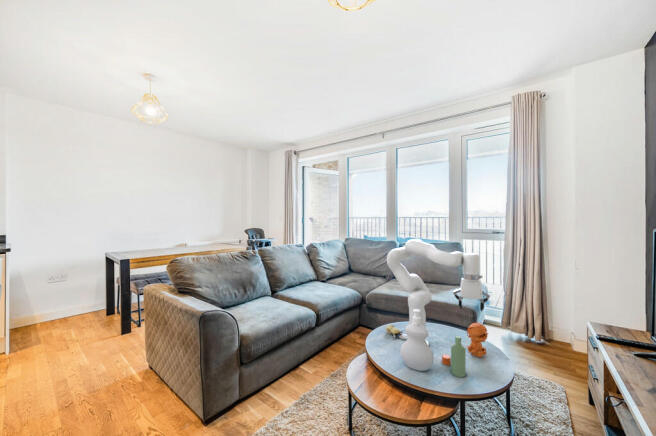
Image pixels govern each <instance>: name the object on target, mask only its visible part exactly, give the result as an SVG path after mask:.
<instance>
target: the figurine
mask: <svg viewBox="0 0 656 436" xmlns="http://www.w3.org/2000/svg"><path fill="white" fill-rule="evenodd" d="M384 329H385V332H386V333H387V334H388V335H393V338H394V339H395V338H397V339H401V340H404V341H406V340H407V339H403V337H402V334H404V331H403V330H400V329H399V328H396V326H395V325H394V324H388V325H386V326H385V327H384Z"/></svg>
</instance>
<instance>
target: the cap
mask: <svg viewBox="0 0 656 436" xmlns="http://www.w3.org/2000/svg"><path fill="white" fill-rule="evenodd" d="M441 363H442V364H443V365H445V366H451V355H449V354H442V356H441Z"/></svg>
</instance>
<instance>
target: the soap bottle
mask: <svg viewBox="0 0 656 436" xmlns="http://www.w3.org/2000/svg"><path fill="white" fill-rule="evenodd" d="M413 312H414V316H413V322H412V324H409V323H408V324H407V325H406V326H405V329H404V332H405V334H406V335H408V339H406V340H404V342H403V343H402V344H401V346H400V350H399V354H400V358H401V360H402V361H403V363H404V364H405V366H406V367H408V368H410V369H412V370H415V371H419V372H425V371H428V370H429V369H431V368H432V367H433V365H434V360H435V357H434V352H433V351H434V350H432V348H431V346H429V345H428V344H427V342H426V341H427V338H428V337H429V330H428V328H427V327H426V328H425V327H424V326H422V325H421V317H419V312H420V309H414V310H413Z"/></svg>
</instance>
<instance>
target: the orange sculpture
mask: <svg viewBox="0 0 656 436" xmlns="http://www.w3.org/2000/svg"><path fill="white" fill-rule="evenodd" d="M466 336H467V338H468V339H469V338H470V344H469V345H467V351H468V354H471V355H472V356H473V357H476V358H483V357H484V356H487V349H486V348H485V346H483V344H482V343H485V342H486V340H487V339H488V336H489V332H488V328H487V327H486V326H485V325H483V324H482V322H478V321H476V322H473V323H471V324H470V325H469V326H468V327H467V329H466Z"/></svg>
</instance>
